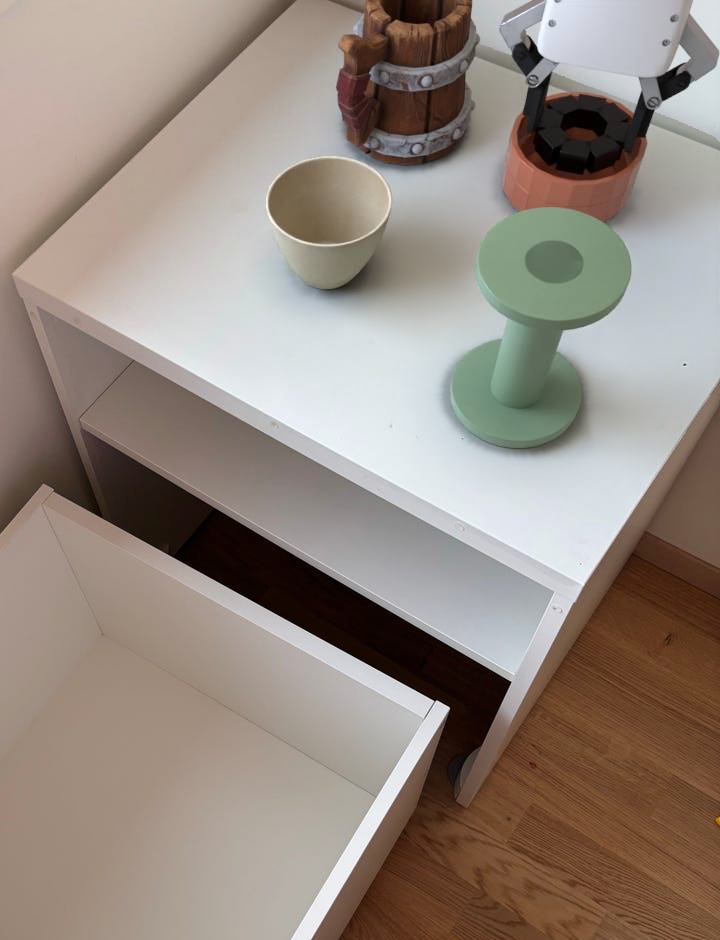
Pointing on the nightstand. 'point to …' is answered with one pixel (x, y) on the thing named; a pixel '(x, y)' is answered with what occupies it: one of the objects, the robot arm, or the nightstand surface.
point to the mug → (408, 78)
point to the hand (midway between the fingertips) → (582, 130)
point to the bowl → (548, 187)
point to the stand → (536, 322)
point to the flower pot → (328, 217)
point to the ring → (584, 115)
